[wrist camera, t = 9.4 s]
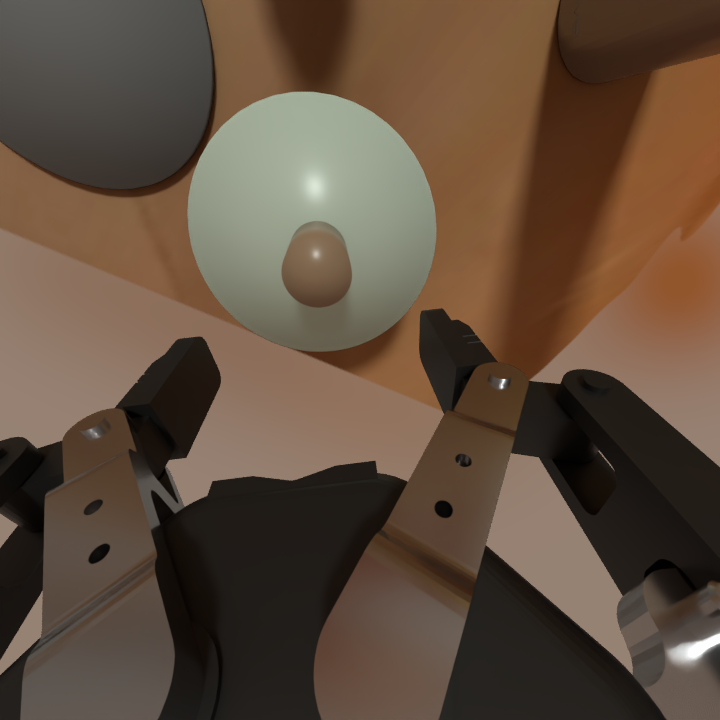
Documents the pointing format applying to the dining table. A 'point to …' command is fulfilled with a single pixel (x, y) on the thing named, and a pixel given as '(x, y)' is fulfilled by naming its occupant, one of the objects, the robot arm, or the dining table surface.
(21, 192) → the dining table surface
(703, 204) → the dining table surface
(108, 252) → the dining table surface
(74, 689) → the robot arm
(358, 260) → the lid
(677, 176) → the dining table surface
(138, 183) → the mat
